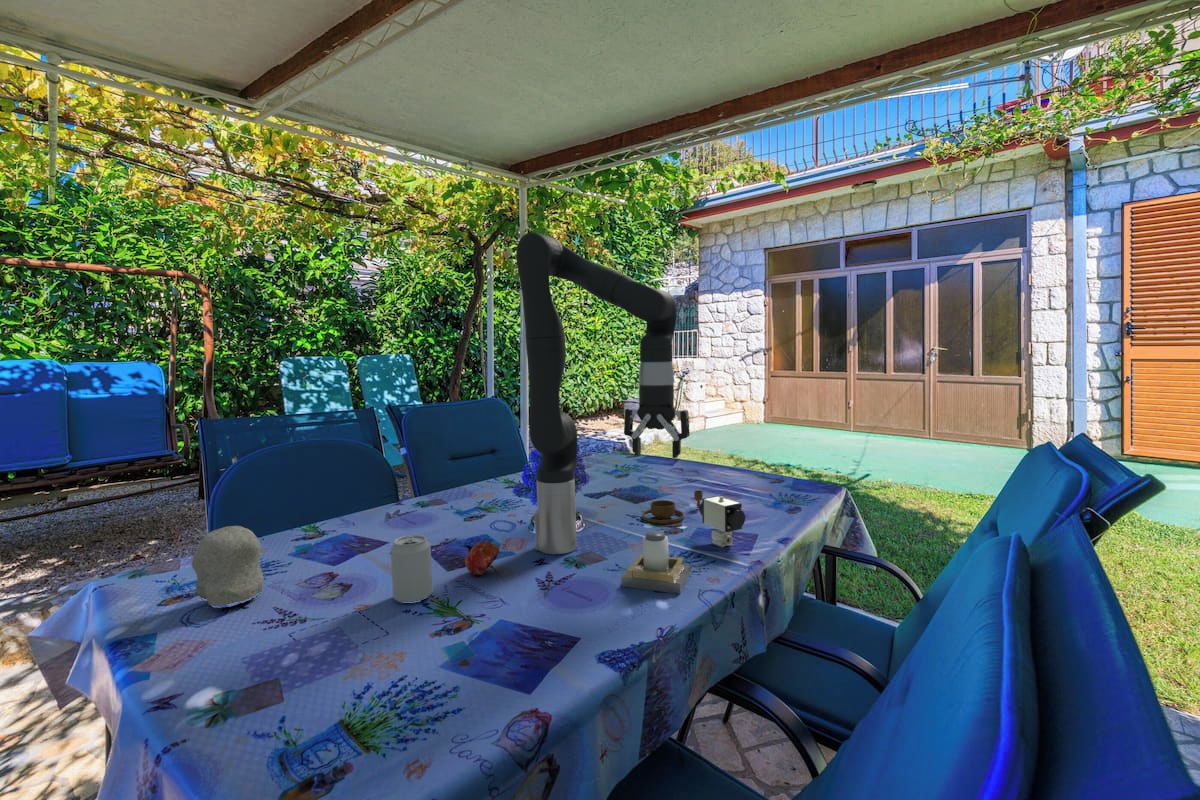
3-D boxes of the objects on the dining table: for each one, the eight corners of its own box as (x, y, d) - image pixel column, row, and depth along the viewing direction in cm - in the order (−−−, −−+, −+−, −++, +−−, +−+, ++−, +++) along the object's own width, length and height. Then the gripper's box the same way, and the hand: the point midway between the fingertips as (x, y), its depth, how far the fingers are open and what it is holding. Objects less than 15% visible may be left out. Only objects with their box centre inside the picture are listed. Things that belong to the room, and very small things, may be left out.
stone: (272, 598, 114) (267, 525, 112) (213, 621, 104) (206, 541, 103) (242, 587, 119) (236, 518, 118) (183, 608, 110) (177, 533, 109)
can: (391, 608, 108) (388, 547, 107) (394, 592, 115) (391, 535, 114) (432, 602, 110) (429, 542, 109) (433, 587, 117) (430, 531, 116)
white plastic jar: (640, 574, 116) (639, 537, 115) (647, 565, 121) (646, 529, 120) (665, 576, 114) (664, 539, 113) (671, 567, 119) (670, 531, 118)
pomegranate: (502, 577, 127) (470, 547, 129) (517, 555, 125) (484, 526, 126) (483, 593, 121) (450, 562, 123) (498, 571, 118) (464, 539, 120)
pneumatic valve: (731, 553, 132) (730, 503, 131) (698, 539, 142) (698, 493, 141) (748, 549, 135) (748, 499, 134) (715, 535, 145) (715, 489, 144)
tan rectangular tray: (621, 586, 115) (621, 569, 115) (635, 568, 124) (635, 553, 124) (680, 593, 111) (679, 576, 110) (690, 574, 120) (689, 558, 120)
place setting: (636, 512, 170) (636, 493, 169) (701, 508, 172) (700, 489, 172) (648, 530, 152) (648, 509, 152) (720, 525, 155) (720, 504, 154)
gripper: (619, 383, 122) (620, 457, 124) (684, 384, 117) (684, 461, 118) (630, 381, 129) (631, 451, 131) (692, 382, 124) (692, 455, 125)
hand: (656, 456), depth 124 cm, fingers open, 8 cm apart
